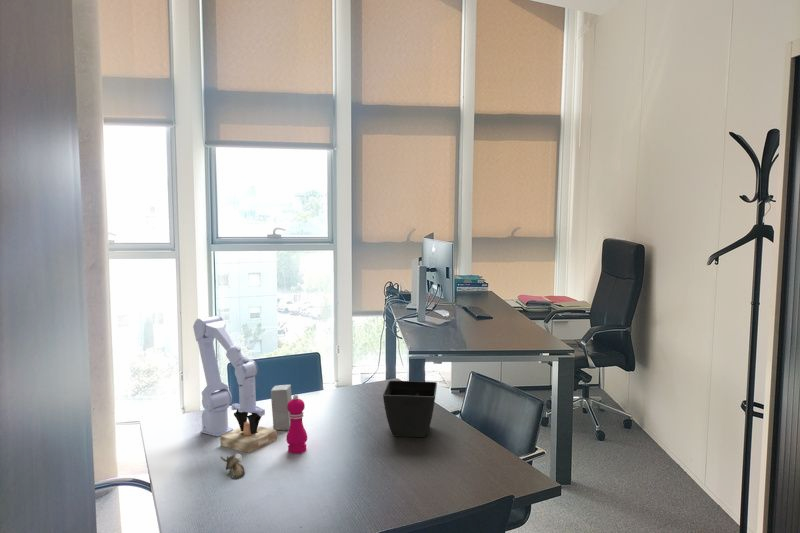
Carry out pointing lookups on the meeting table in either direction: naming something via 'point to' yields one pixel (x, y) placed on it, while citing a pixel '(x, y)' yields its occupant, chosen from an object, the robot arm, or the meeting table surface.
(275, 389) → the skincare box
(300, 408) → the pepper mill
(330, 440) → the meeting table surface
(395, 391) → the flower pot
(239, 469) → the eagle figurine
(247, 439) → the bore block
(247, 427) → the peg
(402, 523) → the meeting table surface
